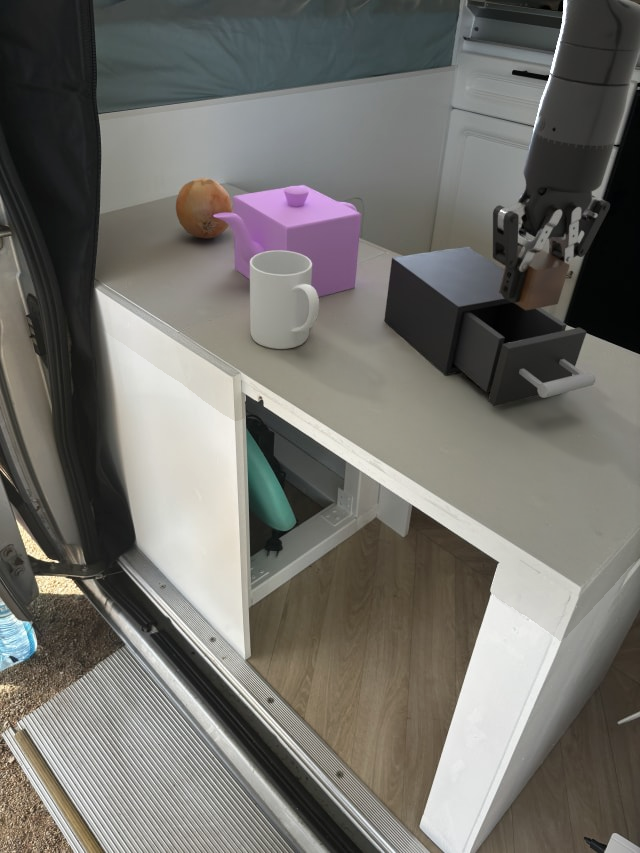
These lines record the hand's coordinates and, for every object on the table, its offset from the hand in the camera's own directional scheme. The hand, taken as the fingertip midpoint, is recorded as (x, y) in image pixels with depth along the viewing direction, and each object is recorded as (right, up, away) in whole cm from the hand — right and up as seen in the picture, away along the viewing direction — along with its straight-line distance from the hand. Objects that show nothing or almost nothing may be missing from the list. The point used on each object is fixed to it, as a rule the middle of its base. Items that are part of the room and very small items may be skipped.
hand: (528, 295), depth 72 cm
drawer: (0, -8, +10) cm, 13 cm away
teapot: (-28, +9, +32) cm, 43 cm away
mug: (-27, -3, +16) cm, 32 cm away
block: (0, 0, 0) cm, 0 cm away
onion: (-43, +19, +44) cm, 65 cm away
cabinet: (-5, -2, +19) cm, 19 cm away
